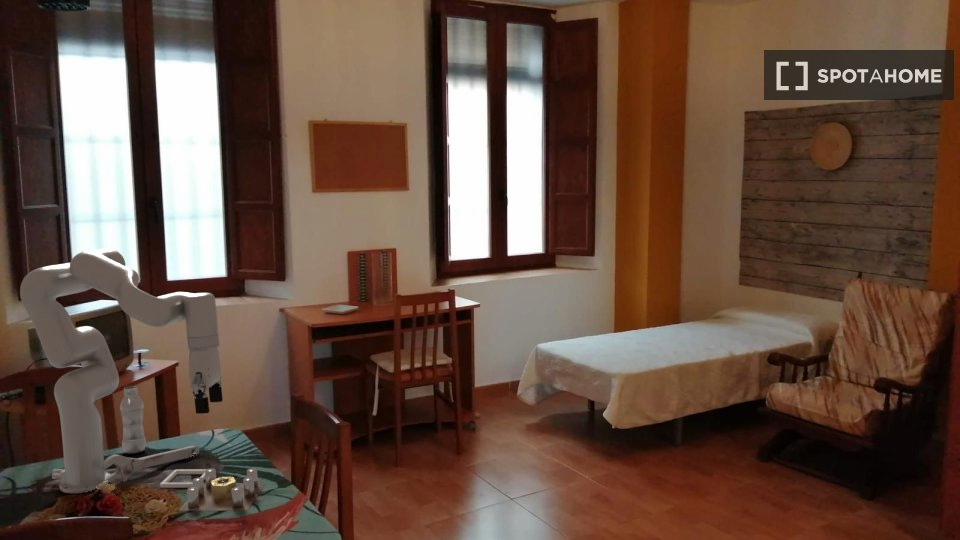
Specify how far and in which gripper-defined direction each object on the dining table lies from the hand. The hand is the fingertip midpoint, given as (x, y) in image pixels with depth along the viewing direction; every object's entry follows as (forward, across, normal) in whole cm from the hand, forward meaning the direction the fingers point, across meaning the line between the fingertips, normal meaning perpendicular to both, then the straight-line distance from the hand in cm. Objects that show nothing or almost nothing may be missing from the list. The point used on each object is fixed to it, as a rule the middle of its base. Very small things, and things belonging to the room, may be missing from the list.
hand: (209, 407), depth 193 cm
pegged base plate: (+23, +2, +2) cm, 23 cm away
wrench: (+23, -18, -24) cm, 38 cm away
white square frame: (+23, -8, -12) cm, 27 cm away
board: (+24, +2, +2) cm, 24 cm away
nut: (+23, +2, +2) cm, 23 cm away
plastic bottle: (+22, -32, -36) cm, 53 cm away
